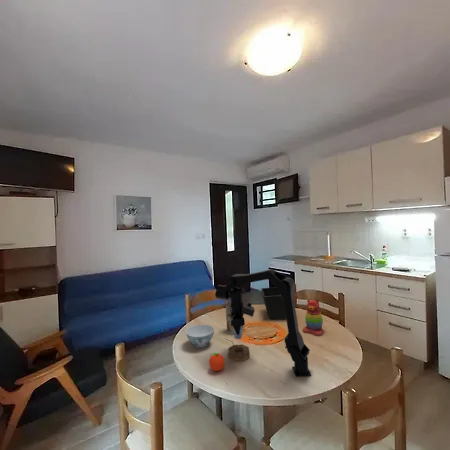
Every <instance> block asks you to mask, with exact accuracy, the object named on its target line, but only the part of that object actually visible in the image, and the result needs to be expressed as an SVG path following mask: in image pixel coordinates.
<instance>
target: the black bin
mask: <svg viewBox="0 0 450 450" xmlns="http://www.w3.org/2000/svg"><path fill="white" fill-rule="evenodd" d="M261 295H262V299H263V303H264V306H265V310H266V313H267V314H268V315H267V316H268V319H269V320H286V314H285V307H284V301H283V299H282V297H281V295H280V293H279V290H278V288H277V287H275V286H274V287H265V288H264V287H262V288H261Z"/></svg>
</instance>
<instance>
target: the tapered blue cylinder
mask: <svg viewBox="0 0 450 450" xmlns="http://www.w3.org/2000/svg"><path fill="white" fill-rule="evenodd" d="M233 335H234V337H233V338H234V339H236V340H240V339H242V338H243V333H242V330H241V328H240V333H239V335H237V334H236V331H235V329H234V334H233Z"/></svg>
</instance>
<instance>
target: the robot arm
mask: <svg viewBox="0 0 450 450" xmlns="http://www.w3.org/2000/svg"><path fill="white" fill-rule="evenodd" d="M265 280H266V281H267V280H268V281H269V282H270V283H271V284H272V285H273V286H274V288H275V287H277V288H278V290H279V293H280V295H281V297H282V299H283V301H284V307H285V314H286V319H285V320H286V327H287V332H288V333H287V334H286V336H285V337H284V343H285V349H286V350H287V353H288V354H289V355H290V357H291V361H292V362H293V366H292V367H291V368H292V371H293V374H294V375H295V377H311V376H312V373H311V371H310V369H309V357H308V356H309V354H310V351H311V350H310V348H309V347H308V346H307V345H306V344H305V342H304V338H303V335H302V334H301V332H300V331H299V324H298V317H297V311H296V304H295V295H296V282H295V280H294V279H293V278H292V277H287V276H286V275H285V274H283V273H281V272H278V271H276V270H275V269H272V268H269V269H267V270H261V271H257V272H252V273H235V274H233V275H231V276H229V277H228V278H227V282H226V285H222V284H218V285H217V288H216V290H215V295H214V296H215V298H216V299H218V300H226V301H228V300H230V303H231V326H233V327H234V329H235V331H236V334H237V335H239V333H240V328H241V326H243V327H244V326H245V325H246V323H245V317H244V316H245V315H247V316H249V317H254V314H255V307H254V306H252V303H251V302H247V303H246V304H244V302H243V294H244V293H245V292H246V291H247V290H246V289H245V288H244V287H243V285H245V284H250V283H255V282H261V281H265Z"/></svg>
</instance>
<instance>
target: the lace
mask: <svg viewBox="0 0 450 450" xmlns="http://www.w3.org/2000/svg"><path fill="white" fill-rule="evenodd" d="M225 339H226V340H228V341H230V342H232V346H233V345H236V344H235V341H234V340H232V339H231V338H228V337H225Z"/></svg>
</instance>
